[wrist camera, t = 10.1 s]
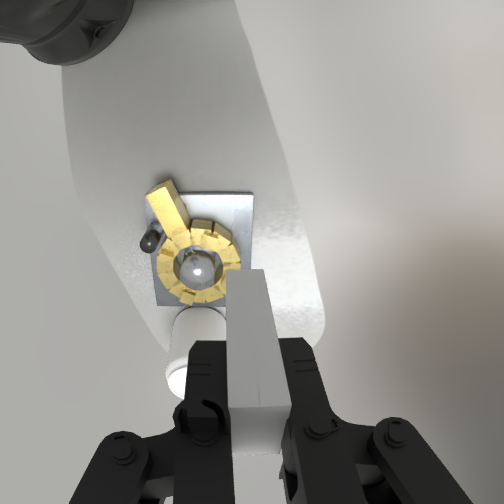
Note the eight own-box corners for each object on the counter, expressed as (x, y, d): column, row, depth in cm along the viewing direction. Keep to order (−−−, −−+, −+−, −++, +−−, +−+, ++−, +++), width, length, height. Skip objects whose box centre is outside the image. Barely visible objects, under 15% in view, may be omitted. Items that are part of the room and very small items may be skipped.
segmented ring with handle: (251, 273, 42) (253, 290, 38) (183, 299, 43) (180, 316, 39) (200, 165, 35) (197, 172, 31) (126, 200, 36) (116, 211, 32)
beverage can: (174, 341, 48) (164, 400, 37) (175, 301, 44) (163, 360, 34) (224, 346, 49) (225, 406, 38) (230, 307, 46) (233, 367, 35)
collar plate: (147, 193, 37) (133, 209, 32) (252, 192, 38) (257, 208, 33) (158, 301, 44) (150, 328, 39) (248, 301, 45) (251, 329, 40)
